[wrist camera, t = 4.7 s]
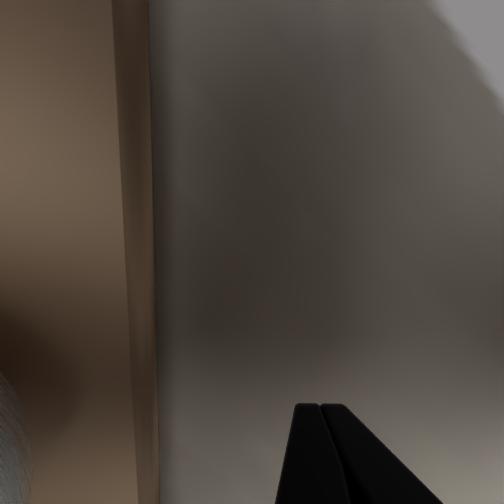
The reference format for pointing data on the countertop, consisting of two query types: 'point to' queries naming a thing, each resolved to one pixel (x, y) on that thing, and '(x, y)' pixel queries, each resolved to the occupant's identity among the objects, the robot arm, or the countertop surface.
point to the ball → (14, 449)
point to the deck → (79, 246)
